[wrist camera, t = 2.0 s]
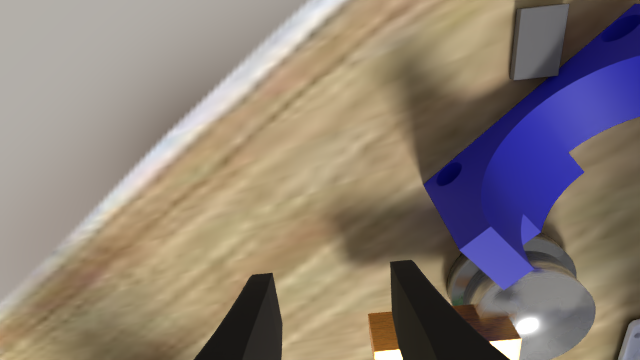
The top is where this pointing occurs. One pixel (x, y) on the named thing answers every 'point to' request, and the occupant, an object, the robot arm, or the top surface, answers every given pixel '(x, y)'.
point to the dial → (514, 313)
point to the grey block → (538, 41)
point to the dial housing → (467, 269)
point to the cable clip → (537, 152)
